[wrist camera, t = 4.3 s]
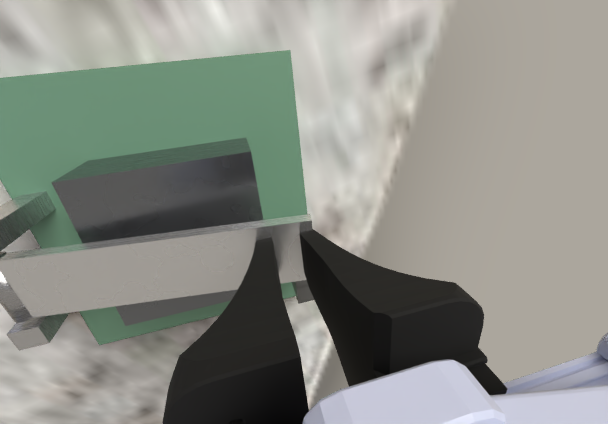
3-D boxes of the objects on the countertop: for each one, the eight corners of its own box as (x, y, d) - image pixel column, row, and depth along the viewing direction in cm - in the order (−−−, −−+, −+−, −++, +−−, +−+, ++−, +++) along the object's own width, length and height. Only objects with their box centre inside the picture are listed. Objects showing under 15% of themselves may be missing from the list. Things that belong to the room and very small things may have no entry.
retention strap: (25, 307, 13) (7, 324, 12) (-13, 253, 12) (-36, 268, 11) (314, 267, 14) (317, 281, 13) (309, 212, 13) (311, 222, 12)
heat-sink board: (104, 333, 20) (63, 420, 15) (-39, 82, 13) (-208, 86, 8) (311, 282, 23) (336, 342, 18) (286, 51, 16) (316, 39, 11)
